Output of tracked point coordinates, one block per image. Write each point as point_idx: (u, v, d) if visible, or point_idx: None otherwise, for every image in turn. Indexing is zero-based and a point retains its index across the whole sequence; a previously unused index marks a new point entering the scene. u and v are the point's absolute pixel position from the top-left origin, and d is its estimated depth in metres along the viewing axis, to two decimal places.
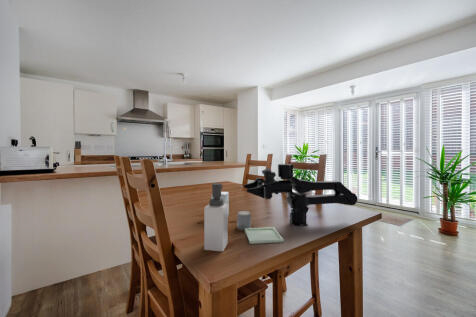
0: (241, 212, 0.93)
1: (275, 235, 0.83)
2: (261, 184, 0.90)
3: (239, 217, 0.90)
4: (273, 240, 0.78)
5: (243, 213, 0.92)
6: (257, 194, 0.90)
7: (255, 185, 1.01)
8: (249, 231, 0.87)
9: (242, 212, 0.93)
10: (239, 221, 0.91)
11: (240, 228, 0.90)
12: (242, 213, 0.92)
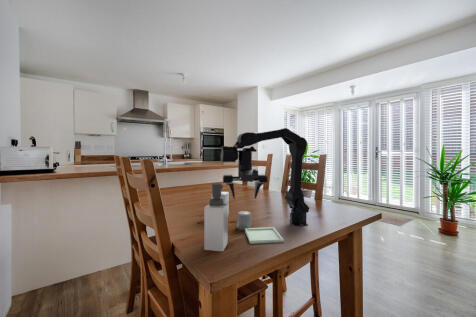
0: (241, 212, 0.93)
1: (275, 235, 0.83)
2: (258, 184, 0.89)
3: (239, 217, 0.90)
4: (273, 240, 0.78)
5: (243, 213, 0.92)
6: None
7: None
8: (249, 231, 0.87)
9: (242, 212, 0.93)
10: (239, 221, 0.91)
11: (240, 228, 0.90)
12: (242, 213, 0.92)
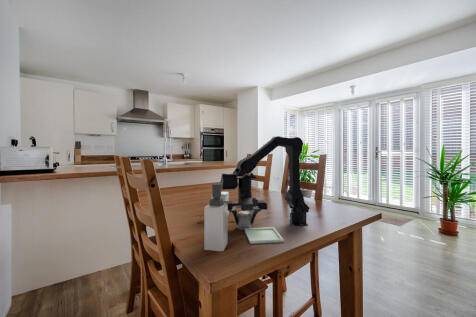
0: (241, 212, 0.93)
1: (275, 235, 0.83)
2: (254, 211, 0.89)
3: (239, 217, 0.91)
4: (273, 240, 0.78)
5: (243, 213, 0.92)
6: None
7: None
8: (249, 231, 0.87)
9: (242, 212, 0.93)
10: (239, 221, 0.91)
11: (240, 228, 0.90)
12: (242, 213, 0.92)
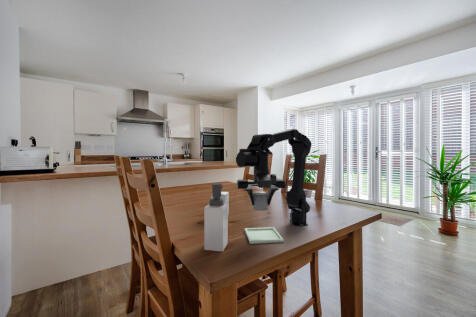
0: (257, 192, 0.86)
1: (275, 235, 0.83)
2: (272, 190, 0.82)
3: (255, 196, 0.83)
4: (273, 240, 0.78)
5: (259, 192, 0.84)
6: None
7: None
8: (249, 231, 0.87)
9: (258, 192, 0.86)
10: (255, 201, 0.83)
11: (256, 208, 0.83)
12: (258, 192, 0.84)
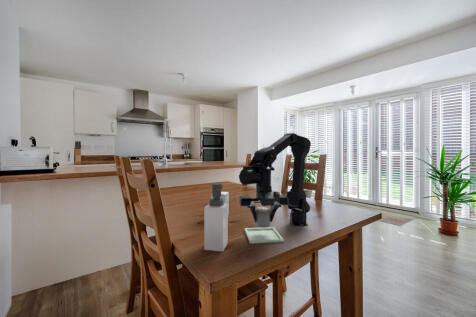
0: (259, 208, 0.85)
1: (275, 235, 0.83)
2: (275, 207, 0.81)
3: (257, 213, 0.82)
4: (273, 240, 0.78)
5: (262, 209, 0.83)
6: None
7: None
8: (249, 231, 0.87)
9: (260, 208, 0.85)
10: (257, 217, 0.82)
11: (259, 225, 0.82)
12: (261, 209, 0.83)
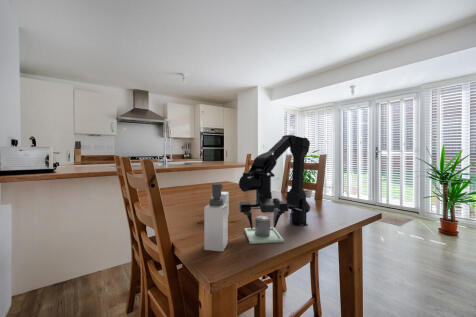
0: (259, 217, 0.85)
1: (275, 235, 0.83)
2: (278, 213, 0.81)
3: (257, 223, 0.82)
4: (273, 240, 0.78)
5: (262, 218, 0.83)
6: None
7: None
8: (249, 231, 0.87)
9: (260, 217, 0.85)
10: (257, 227, 0.82)
11: (258, 235, 0.82)
12: (260, 218, 0.83)
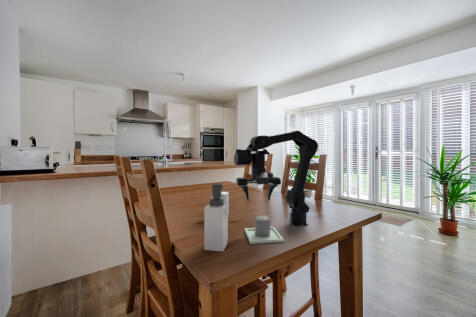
0: (259, 217, 0.85)
1: (275, 235, 0.83)
2: (272, 186, 0.91)
3: (257, 223, 0.82)
4: (273, 240, 0.78)
5: (262, 218, 0.83)
6: None
7: None
8: (249, 231, 0.87)
9: (260, 217, 0.85)
10: (257, 227, 0.82)
11: (258, 235, 0.82)
12: (260, 218, 0.83)
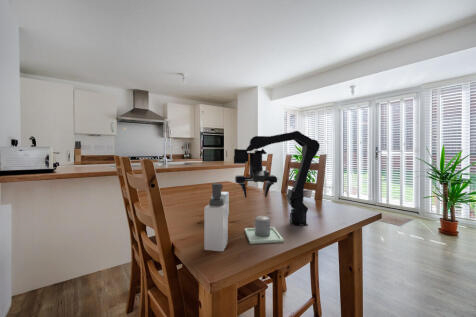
0: (259, 217, 0.85)
1: (275, 235, 0.83)
2: (268, 184, 0.96)
3: (257, 223, 0.82)
4: (273, 240, 0.78)
5: (262, 218, 0.83)
6: None
7: None
8: (249, 231, 0.87)
9: (260, 217, 0.85)
10: (257, 227, 0.82)
11: (258, 235, 0.82)
12: (260, 218, 0.83)
